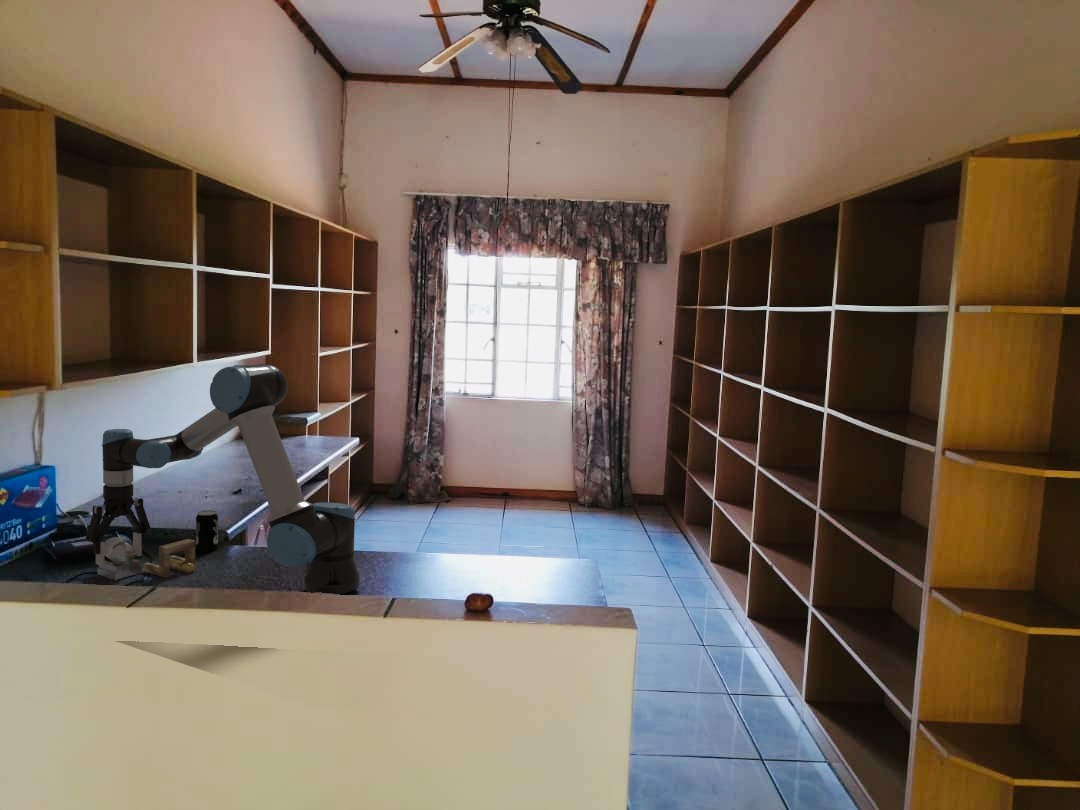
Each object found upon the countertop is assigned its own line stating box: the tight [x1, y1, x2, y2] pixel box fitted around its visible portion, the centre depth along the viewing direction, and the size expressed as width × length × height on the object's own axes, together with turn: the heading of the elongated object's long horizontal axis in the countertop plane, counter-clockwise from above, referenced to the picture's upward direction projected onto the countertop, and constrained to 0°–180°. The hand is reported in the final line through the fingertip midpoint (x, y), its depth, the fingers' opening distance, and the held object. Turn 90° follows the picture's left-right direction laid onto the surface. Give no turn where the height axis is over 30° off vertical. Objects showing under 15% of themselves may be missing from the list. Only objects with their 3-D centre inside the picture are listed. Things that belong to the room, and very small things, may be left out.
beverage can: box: [195, 509, 219, 552], centre depth 246 cm, size 7×7×12 cm
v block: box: [97, 558, 143, 581], centre depth 219 cm, size 8×8×4 cm
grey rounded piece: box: [104, 536, 136, 565], centre depth 219 cm, size 9×6×6 cm, turn 46°
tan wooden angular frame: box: [143, 538, 196, 579], centre depth 224 cm, size 10×10×9 cm
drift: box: [170, 559, 197, 574], centre depth 225 cm, size 10×3×3 cm
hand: (119, 559), depth 219 cm, fingers open, 10 cm apart
